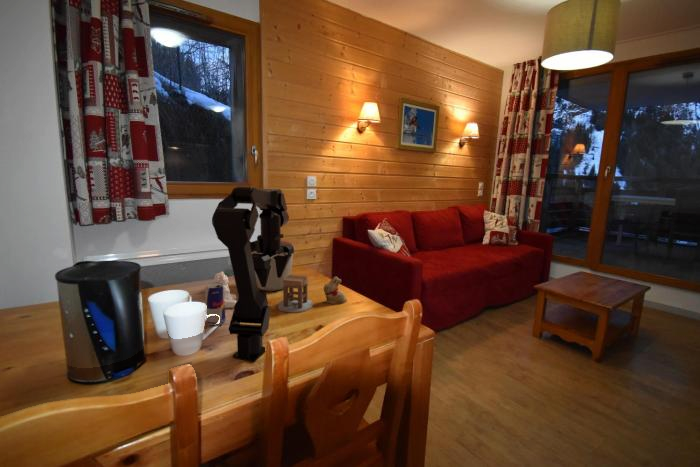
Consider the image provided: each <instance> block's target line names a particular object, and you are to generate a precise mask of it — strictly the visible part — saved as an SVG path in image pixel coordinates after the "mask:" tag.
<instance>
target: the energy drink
mask: <svg viewBox="0 0 700 467" xmlns="http://www.w3.org/2000/svg"><path fill="white" fill-rule="evenodd" d="M204 287H205V288H204V296H205V297H204V298H205V300H204V301H205V306H206V305H207V315H209V314H217V315H219V316H220V323H219V325H223V324H224V323H225V322H226V321H227V320H226V308H225V298H224V286H223V283H220V282H209V283H207V284H206V285H205V286H204ZM218 320H219V317H218V316H216V315H215V316H210V317H208V318H207V317H206V324H207V325H208V326H211V325H215V324H216V323H217V322H218ZM219 325H218V326H219Z"/></svg>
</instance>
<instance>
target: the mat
mask: <svg viewBox="0 0 700 467" xmlns="http://www.w3.org/2000/svg"><path fill="white" fill-rule="evenodd" d="M313 305H314V302H313V301H312V300H311V299H308V298H307V303H305V302H303V307H302V308H298V301H297V300H293V301H289V300H288V306H287V307H284V302H283V299H282V300H280V301H279V302H278V304H277V308H278V309H279V310H280V311H282V312H285V313H290V314H291V313H294V314H297V313H298V314H299V313H303V312H306V311H309V310H312V308H313V307H314V306H313Z"/></svg>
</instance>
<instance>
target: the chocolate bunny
mask: <svg viewBox="0 0 700 467" xmlns="http://www.w3.org/2000/svg"><path fill="white" fill-rule="evenodd" d="M341 283H342V279H341V278H339V277H338V276H336V275H335V276H333V277H332V279H331V280H330V281H329V282H327V283H325V284H324V286H323V292H324V295H325V298H326V299H325V303H326V304H330V305H343V304H345V303H347V302H348V298H347V297H346V295H345V293H344V292H343V291H342V290H340V289H339V285H340V284H341Z"/></svg>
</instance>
